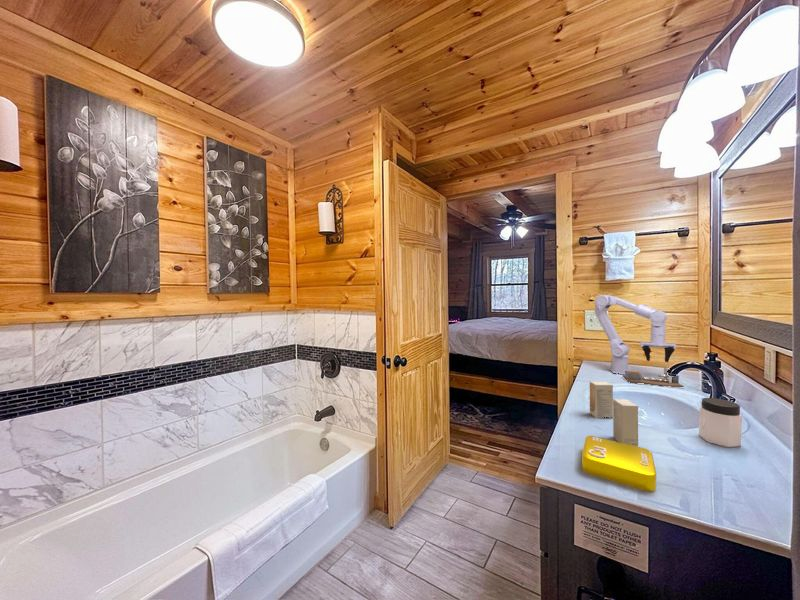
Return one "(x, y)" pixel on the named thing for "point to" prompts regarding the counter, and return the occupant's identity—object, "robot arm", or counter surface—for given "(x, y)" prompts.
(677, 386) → the board
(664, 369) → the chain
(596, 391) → the skincare box
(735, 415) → the jar
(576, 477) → the counter surface
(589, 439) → the element tile
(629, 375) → the binder housing
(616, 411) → the skincare box
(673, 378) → the keeper hook
